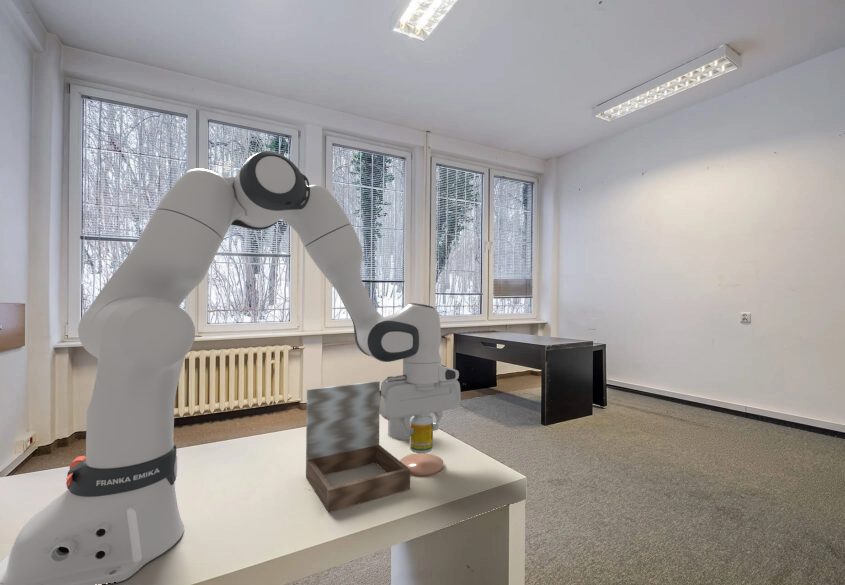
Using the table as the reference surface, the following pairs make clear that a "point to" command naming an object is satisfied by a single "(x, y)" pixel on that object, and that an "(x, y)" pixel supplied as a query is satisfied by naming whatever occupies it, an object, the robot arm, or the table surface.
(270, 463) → the table surface
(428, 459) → the pink flat disc
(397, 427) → the white cylinder
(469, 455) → the table surface
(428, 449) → the supplement bottle
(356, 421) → the hinged wooden box
